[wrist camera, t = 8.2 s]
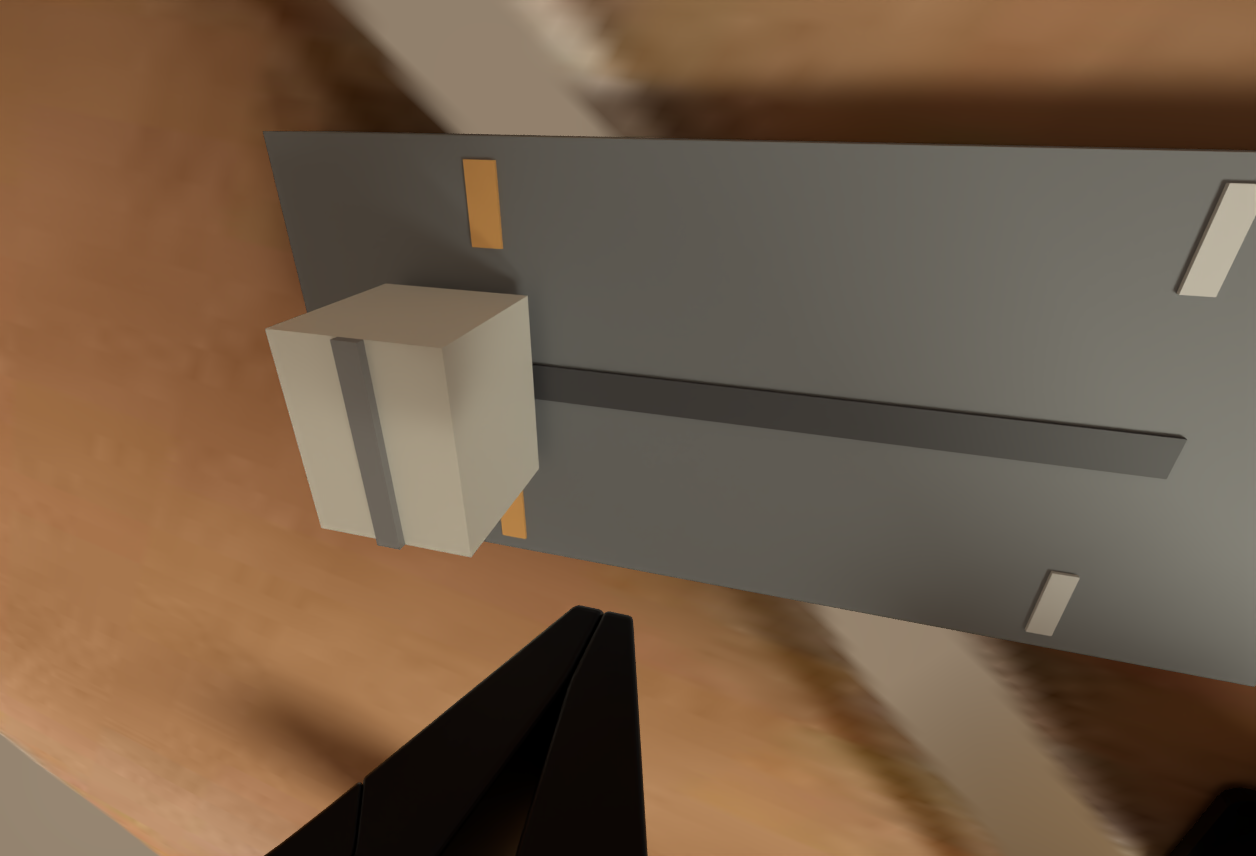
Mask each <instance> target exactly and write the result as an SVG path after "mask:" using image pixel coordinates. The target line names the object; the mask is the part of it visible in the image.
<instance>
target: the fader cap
mask: <svg viewBox="0 0 1256 856" xmlns="http://www.w3.org/2000/svg"><path fill="white" fill-rule="evenodd" d="M265 330H266V334H267V338H268V341H269V345H270V348H271V352H272V355H273V359H274V362H275V366H276V369H277V373H278V376H279V380H280V383H281V387H282V390H283V394H284V398H285V401H286V405H287V408H288V412H289V415H290V419H291V422H292V426H293V429H294V433H295V436H296V440H297V443H298V447H299V450H300V454H301V458H302V461H303V465H304V468H305V472H306V475H307V479H308V482H309V486H310V489H311V493H312V496H313V500H314V503H315V507H316V510H317V514H318V518H319V521H320V525H321V528H325V529H330V530H335V531H340V532H345V533H350V534H355V535H360V536H365V537H370V538H376V541H377V545H379V546H384V547H389V548H394V549H399V550H400V549H401V548H402V547H403V546H404V545H405V544H406V545H411V546H416V547H421V548H426V549H432V550H437V551H442V552H447V553H452V554H457V555H462V556H467V557H472V556H473V554H474V553H475V552H476V550H477V549H478V548H479V546H480V545H481V544H482V543H483V541H484V540H485V539H486V537H487V536H488V535H489V533H490V532H491V531H492V530H493V528H494V527H495V526H496V524H497V523H498V522H499V520H500V519H501V518H502V516H503V515H504V514H505V513H506V511H507V510H508V509H509V507H510V506H511V505H512V503H513V502H514V501H515V500H516V498H517V497H518V496H519V494H520V493H521V492H522V490H523V489H524V488H525V486H526V485H527V484H528V483H529V481H530V480H531V479H532V477H533V476H534V475H535V473H536V472H537V471H538V470H539V460H538V445H537V430H536V414H535V399H534V384H533V369H532V354H531V338H530V323H529V308H528V296H526V295H514V294H503V293H491V292H479V291H468V290H456V289H444V288H433V287H421V286H409V285H398V284H383V285H380V286H378V287H375V288H372V289H370V290H367V291H364V292H362V293H359V294H356V295H354V296H351V297H348V298H346V299H343V300H340V301H338V302H335V303H332V304H330V305H327V306H324V307H322V308H319V309H316V310H314V311H311V312H308V313H306V314H303V315H300V316H298V317H295V318H292V319H289V320H287V321H284V322H281V323H279V324H276V325H273V326H271V327H268V328H265Z"/></svg>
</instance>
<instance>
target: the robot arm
mask: <svg viewBox="0 0 1256 856" xmlns="http://www.w3.org/2000/svg"><path fill="white" fill-rule="evenodd" d="M264 856H648V854H647V838H646V822H645V806H644V790H643V774H642V757H641V741H640V725H639V709H638V693H637V677H636V660H635V644H634V628H633V619H632V617H631V616H629V615H624V614H619V613H614V612H605V613H603V612H602V611H601V610H600V609H595V608H590V607H585V606H580V605H578V606H575V607H573V608H571V609H570V610H569V611H568V612H567V613H565V614H564V615H563V616H562V617H560V618H559V619H558V620H557V621H556V622H554V623H553V624H552V625H551V626H549V627H548V628H547V629H546V630H544V631H543V632H542V633H541V634H540V635H538V636H537V637H536V638H535V639H533V640H532V641H531V642H530V643H529V644H527V645H526V646H525V647H524V648H522V649H521V650H520V651H519V652H518V653H516V654H515V655H514V656H513V657H511V658H510V659H509V660H508V661H507V662H505V663H504V664H503V665H502V666H500V667H499V668H498V669H497V670H495V671H494V672H493V673H492V674H491V675H489V676H488V677H487V678H486V679H484V680H483V681H482V682H481V683H480V684H478V685H477V686H476V687H475V688H473V689H472V690H471V691H470V692H469V693H467V694H466V695H465V696H464V697H462V698H461V699H460V700H459V701H457V702H456V703H455V704H454V705H453V706H451V707H450V708H449V709H448V710H446V711H445V712H444V713H443V714H442V715H440V716H439V717H438V718H437V719H435V720H434V721H433V722H432V723H431V724H429V725H428V726H427V727H426V728H424V729H423V730H422V731H421V732H419V733H418V734H417V735H416V736H415V737H413V738H412V739H411V740H410V741H408V742H407V743H406V744H405V745H404V746H402V747H401V748H400V749H399V750H397V751H396V752H395V753H394V754H393V755H391V756H390V757H389V758H388V759H386V760H385V761H384V762H383V763H381V764H380V765H379V766H378V767H377V768H375V769H374V770H373V771H372V772H370V773H369V774H368V775H367V776H366V777H365V778H364V780H363V784H362V783H360V782H359V783H357V784H355V785H354V786H353V787H352V788H350V789H349V790H348V791H347V792H346V793H344V794H343V795H342V796H341V797H339V798H338V799H337V800H336V801H335V802H333V803H332V804H331V805H330V806H328V807H327V808H326V809H325V810H323V811H322V812H321V813H319V814H318V815H317V816H316V817H314V818H313V819H312V820H310V821H309V822H308V823H307V824H305V825H304V826H303V827H302V828H300V829H299V830H298V831H296V832H295V833H294V834H293V835H291V836H290V837H289V838H287V839H286V840H285V841H284V842H282V843H281V844H280V845H278V846H277V847H275V848H274V849H273V850H271V851H270V852H269V853H267V854H266V855H264ZM1170 856H1256V791H1254V790H1249V789H1243V788H1233V789H1228V790H1225V791H1223V792H1222V793H1221V794H1219V796H1218V797H1217V798H1216V799H1215V801H1214V802H1213V803H1212V804H1211V805H1210V807H1209V808H1208V809H1207V810H1206V812H1205V813H1204V814H1203V815H1202V817H1201V818H1200V819H1199V820H1198V822H1197V823H1196V824H1195V825H1194V826H1193V828H1192V829H1191V830H1190V831H1189V833H1188V834H1187V835H1186V836H1185V838H1184V839H1183V840H1182V841H1181V843H1180V844H1179V845H1178V846H1177V847H1176V849H1175V850H1174V851H1173V852H1172V854H1171V855H1170Z"/></svg>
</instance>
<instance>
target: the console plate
mask: <svg viewBox="0 0 1256 856" xmlns="http://www.w3.org/2000/svg"><path fill="white" fill-rule="evenodd" d="M263 134H264V138H265V143H266V147H267V151H268V155H269V159H270V163H271V167H272V171H273V175H274V179H275V183H276V187H277V191H278V196H279V200H280V204H281V208H282V212H283V216H284V220H285V224H286V228H287V232H288V236H289V240H290V244H291V249H292V253H293V257H294V261H295V265H296V269H297V273H298V277H299V281H300V285H301V289H302V293H303V297H304V301H305V306H306V310H307V313H308V312H311V311H314V310H316V309H319V308H322V307H324V306H327V305H330V304H332V303H335V302H338V301H340V300H343V299H346V298H348V297H351V296H354V295H356V294H359V293H362V292H364V291H367V290H370V289H372V288H375V287H378V286H380V285H383V284H398V285H409V286H421V287H433V288H444V289H456V290H468V291H479V292H491V293H503V294H514V295H526V296H528V308H529V323H530V338H531V354H532V369H533V384H534V399H535V414H536V430H537V445H538V460H539V470H538V471H537V472H536V473H535V475H534V476H533V477H532V479H531V480H530V481H529V483H528V484H527V485H526V486H525V488H524V489H523V490H522V492H521V493H520V494H519V496H518V497H517V498H516V500H515V501H514V502H513V503H512V505H511V506H510V507H509V509H508V510H507V511H506V513H505V514H504V515H503V516H502V518H501V519H500V520H499V522H498V523H497V524H496V526H495V527H494V528H493V530H492V531H491V532H490V533H489V535H488V536H487V537H486V539H485V540H484V541H485V542H490V543H496V544H501V545H506V546H512V547H517V548H522V549H527V550H533V551H538V552H543V553H549V554H554V555H559V556H565V557H570V558H575V559H580V560H586V561H591V562H596V563H602V564H607V565H612V566H617V567H623V568H628V569H633V570H639V571H644V572H649V573H655V574H660V575H665V576H670V577H676V578H681V579H686V580H692V581H697V582H702V583H708V584H713V585H718V586H723V587H729V588H734V589H739V590H745V591H750V592H755V593H760V594H766V595H771V596H776V597H782V598H787V599H792V600H798V601H803V602H808V603H813V604H819V605H824V606H829V607H835V608H840V609H845V610H851V611H856V612H862V613H867V614H872V615H878V616H882V617H888V618H893V619H898V620H904V621H909V622H914V623H919V624H925V625H930V626H935V627H941V628H946V629H951V630H956V631H962V632H967V633H972V634H978V635H983V636H988V637H993V638H999V639H1004V640H1009V641H1015V642H1020V643H1025V644H1031V645H1036V646H1041V647H1046V648H1052V649H1057V650H1062V651H1068V652H1073V653H1078V654H1084V655H1089V656H1094V657H1099V658H1105V659H1110V660H1115V661H1121V662H1126V663H1131V664H1136V665H1142V666H1147V667H1152V668H1158V669H1163V670H1168V671H1174V672H1179V673H1184V674H1189V675H1195V676H1200V677H1205V678H1211V679H1216V680H1221V681H1227V682H1232V683H1237V684H1242V685H1248V686H1253V687H1254V686H1255V685H1256V150H1217V149H1168V148H1120V147H1071V146H1023V145H974V144H926V143H877V142H828V141H780V140H731V139H683V138H634V137H586V136H536V135H488V134H440V133H392V132H343V131H263Z"/></svg>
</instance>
